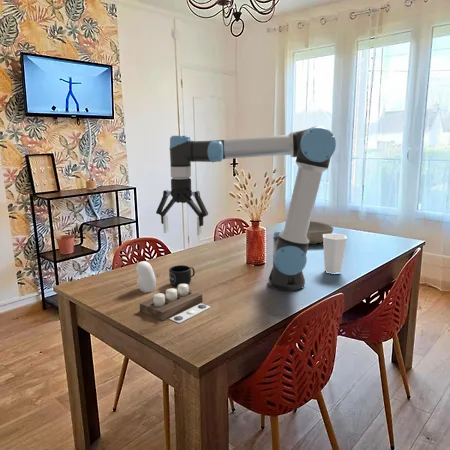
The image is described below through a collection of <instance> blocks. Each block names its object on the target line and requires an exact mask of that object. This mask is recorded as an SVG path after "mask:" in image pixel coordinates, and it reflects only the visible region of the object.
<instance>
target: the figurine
mask: <svg viewBox="0 0 450 450" xmlns="http://www.w3.org/2000/svg"><path fill="white" fill-rule="evenodd" d="M135 269H136V273H137V276H138V278H137V279H136V284H137V286H138V287H139V290H140V292H141V293H151V292H154V291H155V290H156V288H157V278H156V274H155V272H154V268H153V267H152V265H151V263H150V262H148V261H145V260H143V261H139V262H138V263H137V264H136V267H135Z"/></svg>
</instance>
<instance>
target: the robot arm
mask: <svg viewBox="0 0 450 450" xmlns="http://www.w3.org/2000/svg"><path fill="white" fill-rule="evenodd" d="M336 147H337V141H336V137H335V135H334V133H333V132H332V131H331V130H329V129H328V128H326V127H323V126H317V125H315V126H312V127H309V128H307V129H303V130H299V131H290V133H289V134H283V135H282V134H281V135H271V136H270V135H269V136H257V137H255V136H254V137H244V138H229V139H228V138H227V139H220V140H219V139H216V140H212V139H211V140H196V141H195V140H191V136H189V135H171V136H170V138H169V159H170V178H171V179H170V188H171V189H170V190H169V189H165V190H163V192H162V197H161V199H160V202H159V204H158V207H157V209H156V211H155V214H157V215H159V216H160V220H161V221H160V222H161V224H162V225H163V233H164V234H167V233H168V232H169V215H168V214H167V213H168V212H169V211H170V209H171V208H172V207H173V206H174V204H175V203H176V204H177V203H178V204H179V203H182V204H187V205H188V206H189V207H190V208H191V209H192V210H193V212H194V213H195V215H197V216H198V217H196V235H197V236H200V235H201V234H202V227H203V226H204V217H207V216H208V215H209V212H208V210H207V208H206V206H205V203H204V201H203V199H202V198H201V193H200V191H199V190H196V191H193V190H192V178H191V176H192V170H191V169H192V163H194V162H195V163H196V162H199V163H218V162H219V163H220V162H222V161H223V160H229V159H230V160H231V159H245V158H259V157H261V158H262V157H263V158H264V157H275V156H276V157H277V156H290V157H291V158H296V159H295V164H296V165H297V167H298V169H297V173H296V176H295V177H296V178H295V182H294V186H293V189H292V195H291V198H290V199H291V200H290V203H289V208H288V211H287V215H286V220H285V225H284V228H283V230H276V231H274V232H273V236H272V237H273V238H272V239H273V246H272V247H273V251H272V252H273V253H272V268H271V270H270V273H269V277H268V282H267V283H268V285H269V286H270V287H271V288H273V289H275V290H278V291H285V292H286V291H288V292H293V291H292V290H295V291H298V290H297V289H300V288H302V287H304V288H305V286H306V280H305V276H304V272H303V270H304V269H305V268H306V265H307V253H308V249H309V245H310V244H309V239H308V238H307V232H308V228H309V224H310V221H311V219H312V215H313V212H314V208H315V203H316V199H317V196H318V191H319V188H320V184H321V181H322V175H323V173H324V172H326V171H327V170H328V169H329V166H330V162H331V157H333V155H334V153H335V150H336ZM170 196H171V197H172V198H171V199H170V200H169V203H168V204H166V203H167V200H168V198H169V197H170ZM192 196H193V197H194V199H195V201H196V203H197V205H196V204H195V202H194V200H193V198H192ZM165 204H166V206H165ZM304 285H305V286H304ZM302 289H303V288H302ZM300 290H301V289H300Z"/></svg>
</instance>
